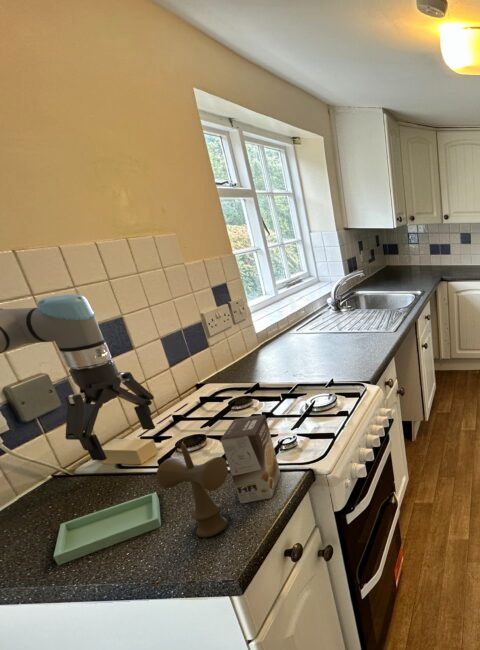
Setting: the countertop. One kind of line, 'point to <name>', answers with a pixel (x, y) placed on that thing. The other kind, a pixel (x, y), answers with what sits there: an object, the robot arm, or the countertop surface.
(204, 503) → the kendama
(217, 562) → the countertop surface
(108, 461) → the tan block
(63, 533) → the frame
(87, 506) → the countertop surface
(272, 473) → the coffee box
